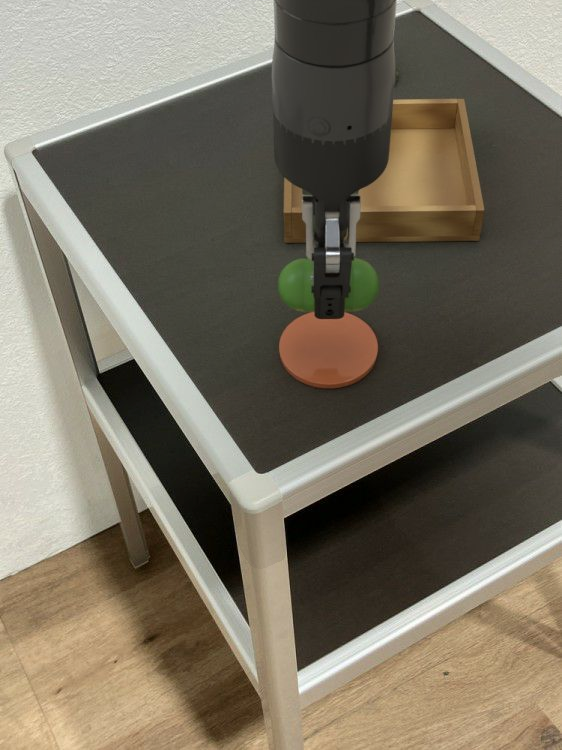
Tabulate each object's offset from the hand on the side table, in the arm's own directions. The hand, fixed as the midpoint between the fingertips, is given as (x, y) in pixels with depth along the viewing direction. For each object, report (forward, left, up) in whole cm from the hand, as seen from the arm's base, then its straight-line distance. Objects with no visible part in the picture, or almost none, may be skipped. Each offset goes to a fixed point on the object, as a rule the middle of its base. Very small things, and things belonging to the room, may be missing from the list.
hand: (328, 292), depth 73 cm
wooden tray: (-5, -21, -7) cm, 23 cm away
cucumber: (0, 0, -1) cm, 1 cm away
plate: (0, 0, -7) cm, 7 cm away
